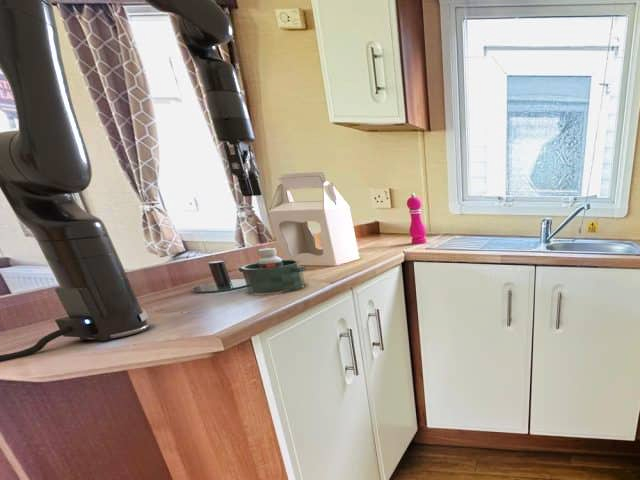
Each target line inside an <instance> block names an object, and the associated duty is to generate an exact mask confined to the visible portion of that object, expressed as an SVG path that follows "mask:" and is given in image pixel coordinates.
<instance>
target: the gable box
mask: <svg viewBox="0 0 640 480" xmlns="http://www.w3.org/2000/svg"><path fill="white" fill-rule="evenodd" d="M278 180H279V182H280V184H278V185H277V186H276V187H277V188H276V190H275V194H274V196H273V199H272V201H271V204H270V208H269V210H268V211H269V215H270V216H269V217H270V220H271V223H272V227H273V231H274V235H275V238H276V242H277V245H278V249H279V253H280V258H281V260H298V261H299V262H300V266H308V267H309V266H311V267H312V266H314V267H316V266H319V267H337V266H341V265H344V264H348V263H350V262H354V261H358V260H360V253H359V248H358V243H357V237H356V233H355V228H354V227H355V226H354V223H353V218H352V213H351V207H350V205H349V204H348V203H347V201H346V200H345V199H344V198H343V197H342V195H341V194H340V193H339V192H338V190H337V189H336V188H335V186H334V185H333V182H329V181H327V180H326V177H325V174H324V173H323V172H322V171H316V172H315V171H313V172H312V171H311V172H298V173H295V172H294V173H283V174H281V176H280V177H279V178H278ZM306 189H307V190H309V189H322V198H323V199H322V200H311V201H310V200H309V201H307V200H306V201H295V199H294V197H293V196H292V193H291V190H306ZM309 222H316V223H318V224H319V226H320V246H321V248H318V247H317V246H316V242H315V241H316V239H315V236H314V234H313V232H312V230H311V227H310V226H309Z"/></svg>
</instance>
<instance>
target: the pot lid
mask: <svg viewBox="0 0 640 480" xmlns="http://www.w3.org/2000/svg"><path fill="white" fill-rule="evenodd" d="M207 264H208V267H209V270H210V273H211V276H212V278H213V282H208V283H204V284H199V285H196V286H194V287H193V288H192V289H191V290H192V292H193V293H195V294H213V293H214V294H215V293H221V292H223V293H225V292H230V291H235V290H240V289H244V288H247V284H246V281H245V278H240V279H239V278H238V279H236V278H235V279H231V278H230V275H229V271H228V268H227V265H226V262H225V260H214V261H209V262H208V263H207Z"/></svg>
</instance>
